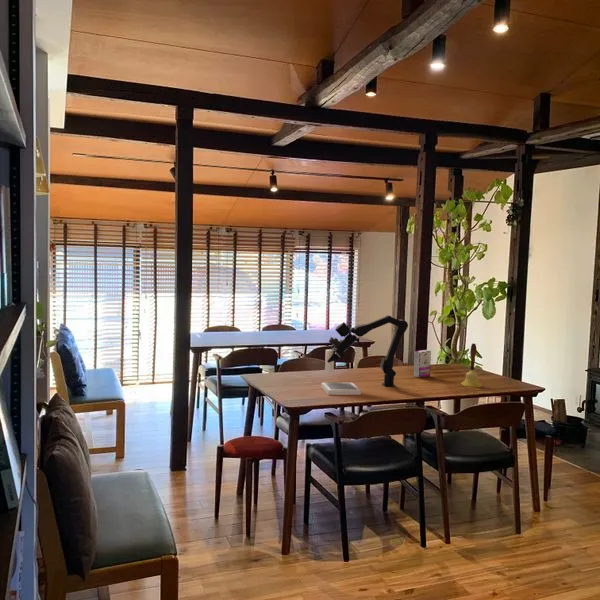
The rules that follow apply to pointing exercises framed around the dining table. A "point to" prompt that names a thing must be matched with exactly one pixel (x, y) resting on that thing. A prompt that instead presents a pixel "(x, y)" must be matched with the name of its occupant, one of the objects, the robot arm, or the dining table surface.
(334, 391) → the base plate
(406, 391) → the dining table surface
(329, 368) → the cream vase
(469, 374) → the handbell
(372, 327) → the robot arm
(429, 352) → the candy bar box
